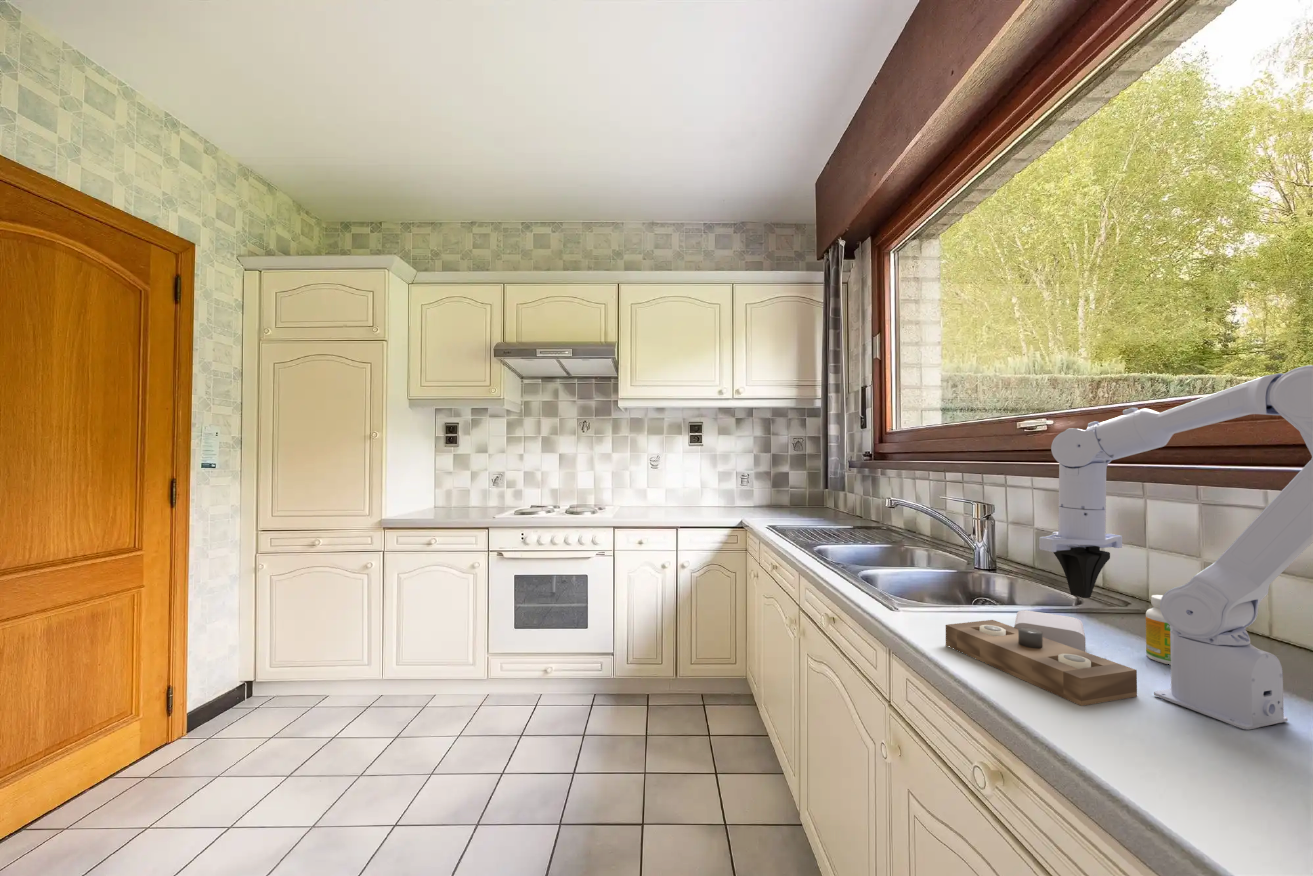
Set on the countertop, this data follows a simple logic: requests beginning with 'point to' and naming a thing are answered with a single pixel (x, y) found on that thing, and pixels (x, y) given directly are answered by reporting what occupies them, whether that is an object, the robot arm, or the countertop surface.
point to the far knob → (992, 630)
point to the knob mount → (1045, 664)
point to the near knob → (1074, 661)
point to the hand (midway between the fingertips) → (1080, 596)
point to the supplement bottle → (1157, 633)
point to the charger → (1054, 627)
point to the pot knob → (1030, 638)
